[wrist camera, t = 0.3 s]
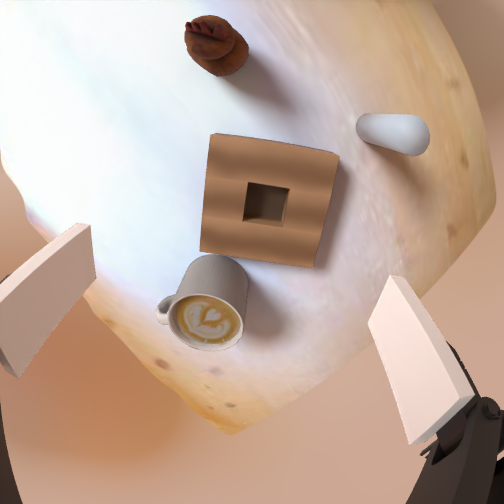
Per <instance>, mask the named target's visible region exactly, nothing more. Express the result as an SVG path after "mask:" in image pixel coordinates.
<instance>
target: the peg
mask: <svg viewBox="0 0 504 504" xmlns="http://www.w3.org/2000/svg"><path fill="white" fill-rule="evenodd" d="M356 131H357V134H358V136H359V137H360V138H361V139H362V140H363V141H365V142H368V143H371V144H375V145H378V146H381V147H385V148H388V149H391V150H394V151H397V152H401V153H404V154H407V155H410V156H418V155H421V154H422V153H424V152H425V150H426V149H427V147H428V145H429V141H430V133H429V129H428V127H427V125H426V123H425V122H424V121H423V120H422V119H421V118H420V117H418V116H415V115H405V114H364V115H362V116H361V117H360V118H359V119H358V121H357V123H356Z"/></svg>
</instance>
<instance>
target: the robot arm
mask: <svg viewBox="0 0 504 504" xmlns="http://www.w3.org/2000/svg"><path fill="white" fill-rule="evenodd" d="M95 279H96V272H95V265H94V257H93V248H92V239H91V227H90V225H88V224H82V223H76V224H75V225H73V226H72V227H71V228H69V229H68V230H66V231H65V232H64V233H62V234H61V235H60V236H58V237H57V238H56V239H54V240H53V241H52V242H50V243H49V244H48V245H46V246H45V247H44V248H42V249H41V250H40V251H39V252H37V253H36V254H35V255H34V256H32V257H31V258H30V259H29V260H27V261H26V262H25V263H24V264H23V265H22V266H20V267H19V268H18V269H17V270H16V271H14V272H13V273H11V274H10V275H8V276H6V277H5V278H4V279H3V280H2V281H1V282H0V362H1V364H2V366H3V367H4V369H5V371H7V372H8V373H10V374H12V375H13V376H15V377H16V378H18V379H19V378H20V377H21V375H22V374H23V372H24V371H25V369H26V368H27V366H28V365H29V363H30V362H31V360H32V359H33V358H34V356H35V354H36V353H37V352H38V350H39V349H40V348H41V346H42V345H43V344H44V342H45V341H46V340H47V338H48V337H49V335H50V334H51V333H52V332H53V330H54V329H55V328H56V326H57V325H58V324H59V323H60V321H61V320H62V319H63V317H64V316H65V315H66V314H67V312H68V311H69V309H71V307H72V306H73V305H74V304H75V303H76V301H77V300H78V299H79V298H80V297H81V295H82V294H83V293H84V292H85V291H86V290H87V288H88V287H89V286H90V285H91V284H92V283H93V281H94V280H95ZM367 324H368V326H369V329H370V331H371V334H372V336H373V339H374V341H375V344H376V347H377V349H378V352H379V355H380V357H381V360H382V363H383V365H384V368H385V371H386V374H387V376H388V379H389V382H390V385H391V388H392V391H393V394H394V397H395V400H396V403H397V405H398V409H399V412H400V416H401V419H402V422H403V425H404V429H405V432H406V435H407V439H408V443H409V445H412V444H417V443H422V442H426V441H427V440H428V439H429V438H430V437H432V436H433V435H434V434H435V433H436V434H437V437H438V439H437V440H436V441H434V442H433V443H432V444H431V445H430V446H428V447H427V448H426V449H424V450H423V451H422V452H421V454H420V455H421V456H423V455H424V454H425V453H427V452H428V451H429V450H430V452H429V454H428V455H427V456H426V457H425V458H426V459H427V460H426V463H425V464H424V467H423V469H422V471H421V474H420V476H419V478H418V480H417V482H416V484H415V486H414V488H413V491H412V493H411V495H410V497H409V498H408V500H407V502H406V504H504V457H503V458H501V459H500V460H498V461H497V455H498V454H499V453H500V452H502V451H503V450H504V410H500V407H499V406H498V404H497V403H496V402H495V401H494V400H493V399H491V398H488V397H482V398H481V397H480V395H479V393H478V391H477V389H476V387H475V385H474V383H473V381H472V379H471V378H470V375H469V374H468V372H467V370H466V369H465V366H464V365H463V363H462V361H460V358H459V356H458V354H457V352H456V351H455V349H454V348H453V347H452V346H451V345H450V344H449V343H448V342H447V341H445V339H444V337H443V336H442V334H441V333H440V331H439V329H438V327H437V326H436V324H435V323H434V321H433V320H432V318H431V316H430V315H429V314H428V312H427V310H426V309H425V307H424V306H423V304H422V303H421V301H420V300H419V298H418V297H417V296H416V294H415V293H414V291H413V290H412V288H411V287H410V285H409V284H408V283H407V281H406V280H405V278H404V277H400V276H394V275H389V278H388V280H387V282H386V285H385V287H384V289H383V291H382V294H381V296H380V298H379V300H378V302H377V304H376V307H375V309H374V311H373V313H372V315H371V317H370V319H369V321H368V323H367ZM0 504H23V503H22V501H21V498H20V495H19V492H18V489H17V485H16V482H15V479H14V475H13V472H12V468H11V464H10V459H9V456H8V450H7V446H6V440H5V435H4V429H3V422H2V414H1V405H0Z"/></svg>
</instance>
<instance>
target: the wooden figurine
mask: <svg viewBox="0 0 504 504" xmlns="http://www.w3.org/2000/svg"><path fill="white" fill-rule="evenodd" d="M185 27H186V31H185V43H186V45H187V51H188V53H189V55H190V56H191V57H192V59H193V60H194V61H195V62H196V63H198V64H199V65H200V66H201V67H202V68H204V69H205V70H207V71H208V72H210V73H211V74H213V75H215V76H217V77H218V76H228V75H230V74H232V73H234V72H235V71H237V70H238V69H239V68H240V67H241V66H242V65H243V64H244V62H245V61H246V59H247V57H248V49H249V47H248V44H247V43H246V41H245V40H244V38H243V37H242V35H240V34H239V33H238V32H237V31H236V30H235V29H234V28H232V26H231V25H230V24H229V23H228V22H227V21H226V20H225V19H222V18H220V17H218V16H212V15H207V16H201V17H198V18H195V19H194V20H193V21H191V22H187V23H186V25H185Z"/></svg>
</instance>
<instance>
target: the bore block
mask: <svg viewBox="0 0 504 504" xmlns="http://www.w3.org/2000/svg"><path fill="white" fill-rule="evenodd" d="M339 158H340V156H338V155H336V154H334V153H332V152H329V151H324V150H320V149H315V148H310V147H305V146H300V145H295V144H289V143H284V142H278V141H272V140H265V139H259V138H252V137H245V136H237V135H229V134H220V133H215V134H212V135H210V143H209V151H208V160H207V169H206V179H205V189H204V200H203V212H202V224H201V238H200V252H206V253H213V254H219V255H226V256H232V257H239V258H246V259H252V260H259V261H266V262H273V263H279V264H286V265H293V266H300V267H307V268H312V267H313V264H314V260H315V257H316V253H317V249H318V245H319V242H320V238H321V234H322V230H323V226H324V222H325V218H326V214H327V210H328V206H329V202H330V198H331V194H332V189H333V185H334V181H335V176H336V172H337V167H338V162H339Z"/></svg>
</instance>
